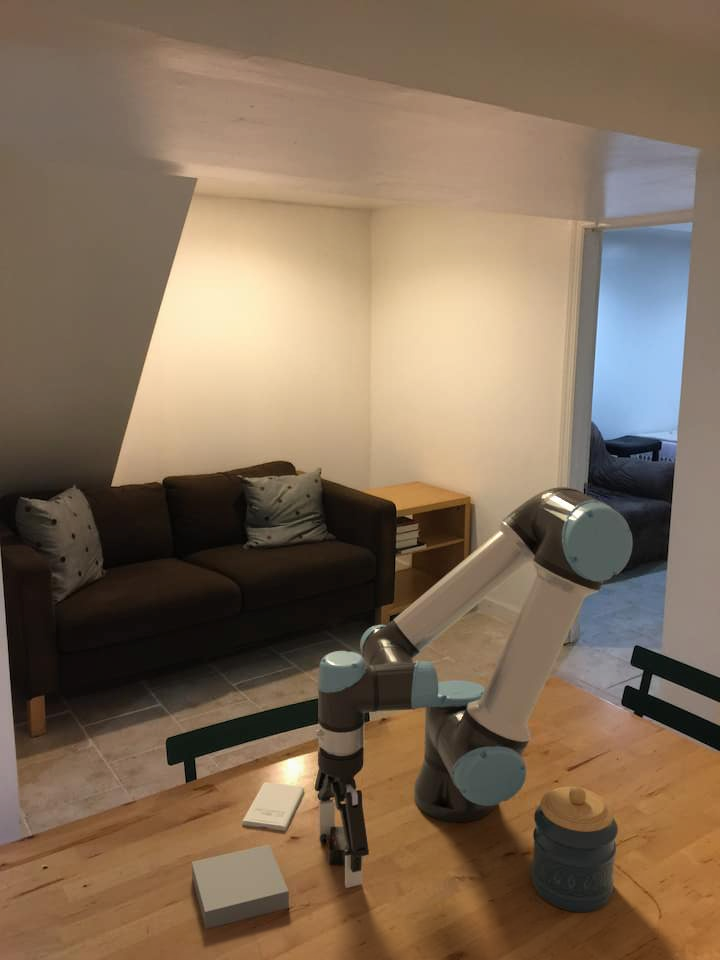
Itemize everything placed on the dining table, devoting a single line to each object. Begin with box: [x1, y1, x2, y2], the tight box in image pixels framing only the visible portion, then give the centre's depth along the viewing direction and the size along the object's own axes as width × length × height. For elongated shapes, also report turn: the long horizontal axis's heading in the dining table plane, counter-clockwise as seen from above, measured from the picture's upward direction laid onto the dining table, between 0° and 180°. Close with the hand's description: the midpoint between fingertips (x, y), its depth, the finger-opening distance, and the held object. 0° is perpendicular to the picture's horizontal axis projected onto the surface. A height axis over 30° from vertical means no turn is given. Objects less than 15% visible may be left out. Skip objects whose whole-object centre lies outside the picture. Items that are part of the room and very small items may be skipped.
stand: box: [191, 843, 290, 930], centre depth 131 cm, size 13×12×3 cm
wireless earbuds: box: [319, 825, 347, 866], centre depth 141 cm, size 5×7×3 cm, turn 179°
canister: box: [530, 786, 619, 913], centre depth 132 cm, size 13×13×18 cm
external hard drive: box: [241, 781, 305, 832], centre depth 154 cm, size 2×8×12 cm
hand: (339, 858), depth 139 cm, fingers open, 13 cm apart
